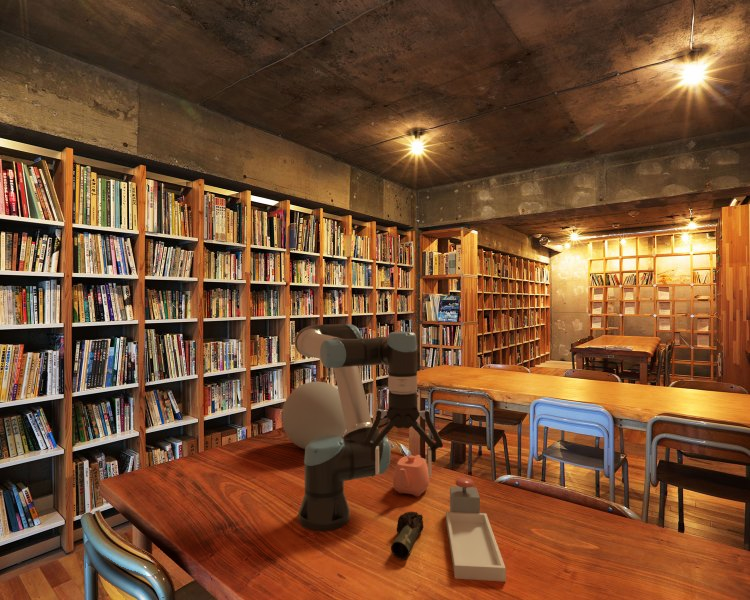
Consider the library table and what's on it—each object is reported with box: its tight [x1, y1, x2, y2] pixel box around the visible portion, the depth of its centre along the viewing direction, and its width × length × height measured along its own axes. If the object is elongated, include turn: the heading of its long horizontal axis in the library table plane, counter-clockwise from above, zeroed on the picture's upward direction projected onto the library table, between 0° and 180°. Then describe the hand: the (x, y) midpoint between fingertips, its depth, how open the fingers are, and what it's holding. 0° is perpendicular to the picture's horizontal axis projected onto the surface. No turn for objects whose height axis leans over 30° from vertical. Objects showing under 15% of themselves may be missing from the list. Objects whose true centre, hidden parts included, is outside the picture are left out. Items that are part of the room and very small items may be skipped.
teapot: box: [392, 454, 430, 497], centre depth 145 cm, size 20×12×12 cm, turn 158°
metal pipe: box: [390, 511, 424, 561], centre depth 113 cm, size 18×7×6 cm, turn 159°
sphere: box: [281, 381, 347, 450], centre depth 189 cm, size 30×30×30 cm
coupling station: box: [445, 477, 507, 582], centre depth 114 cm, size 12×33×11 cm, turn 175°
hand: (403, 473), depth 109 cm, fingers open, 13 cm apart
